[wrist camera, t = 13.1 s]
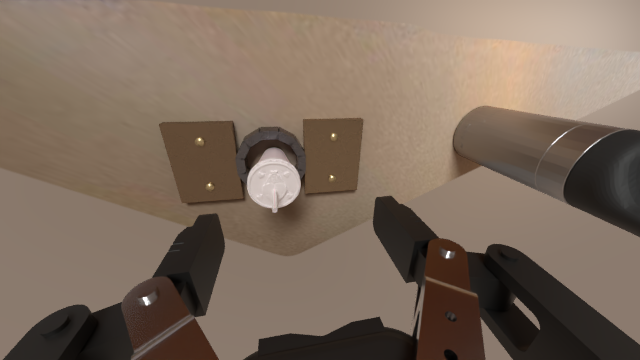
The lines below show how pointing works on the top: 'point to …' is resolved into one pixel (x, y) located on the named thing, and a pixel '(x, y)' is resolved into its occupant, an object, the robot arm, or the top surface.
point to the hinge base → (231, 165)
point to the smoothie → (273, 180)
